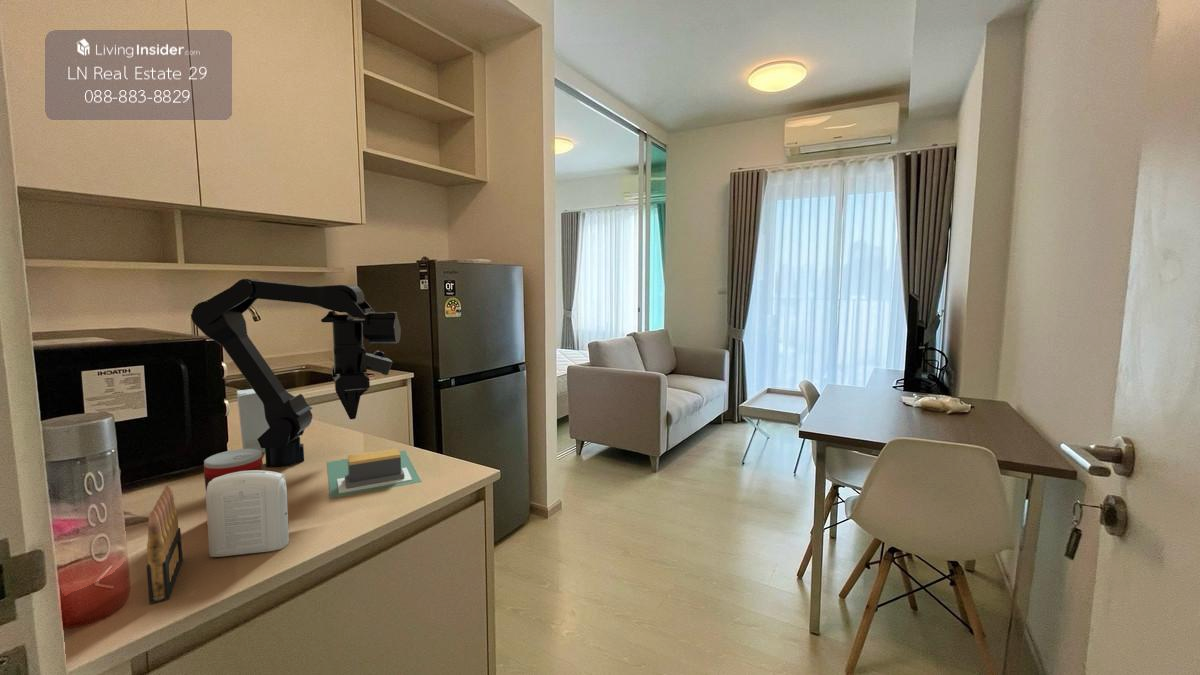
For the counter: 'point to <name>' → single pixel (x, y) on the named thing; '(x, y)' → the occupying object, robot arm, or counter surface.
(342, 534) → the counter surface
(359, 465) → the yellow and grey block
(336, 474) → the board
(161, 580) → the ammunition clip
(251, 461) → the canned food
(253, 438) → the skincare box
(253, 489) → the photo printer
